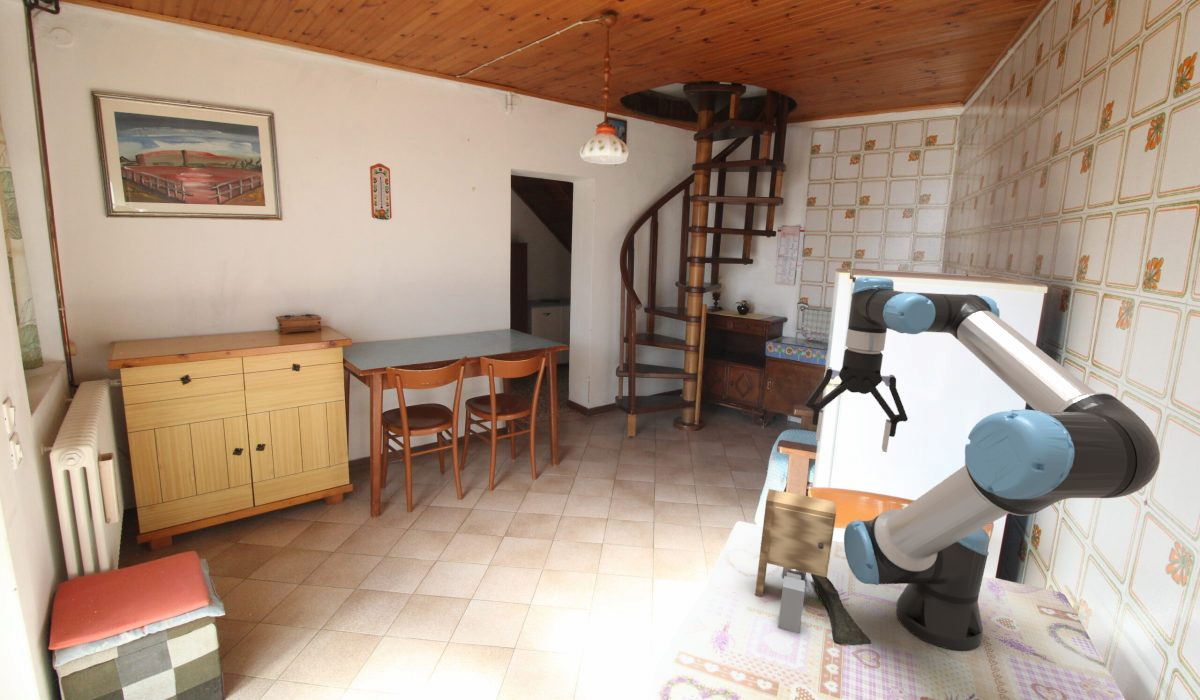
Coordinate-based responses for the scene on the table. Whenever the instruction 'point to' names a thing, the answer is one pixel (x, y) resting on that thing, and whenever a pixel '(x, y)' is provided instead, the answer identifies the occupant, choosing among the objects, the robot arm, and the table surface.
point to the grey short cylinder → (803, 574)
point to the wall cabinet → (796, 534)
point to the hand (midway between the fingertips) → (850, 444)
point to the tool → (839, 615)
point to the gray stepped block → (791, 602)
